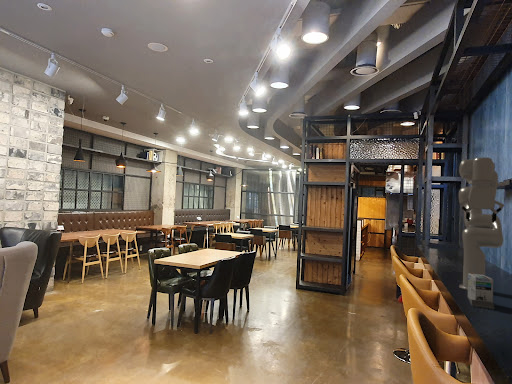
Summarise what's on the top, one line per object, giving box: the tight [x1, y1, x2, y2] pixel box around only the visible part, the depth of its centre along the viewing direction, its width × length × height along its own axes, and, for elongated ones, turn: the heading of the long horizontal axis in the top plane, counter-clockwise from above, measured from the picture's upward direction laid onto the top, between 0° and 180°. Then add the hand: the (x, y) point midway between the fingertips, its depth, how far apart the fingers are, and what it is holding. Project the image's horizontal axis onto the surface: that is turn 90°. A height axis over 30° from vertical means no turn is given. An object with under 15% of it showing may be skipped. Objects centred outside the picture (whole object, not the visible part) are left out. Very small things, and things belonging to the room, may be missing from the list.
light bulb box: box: [467, 273, 494, 303], centre depth 151 cm, size 11×7×11 cm, turn 165°
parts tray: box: [468, 298, 495, 310], centre depth 150 cm, size 15×8×3 cm, turn 153°
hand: (480, 221), depth 162 cm, fingers open, 9 cm apart
